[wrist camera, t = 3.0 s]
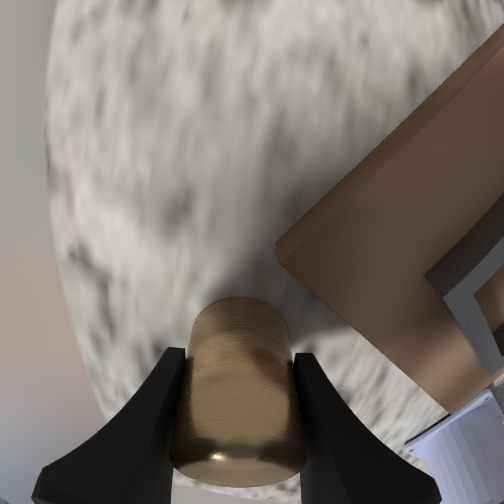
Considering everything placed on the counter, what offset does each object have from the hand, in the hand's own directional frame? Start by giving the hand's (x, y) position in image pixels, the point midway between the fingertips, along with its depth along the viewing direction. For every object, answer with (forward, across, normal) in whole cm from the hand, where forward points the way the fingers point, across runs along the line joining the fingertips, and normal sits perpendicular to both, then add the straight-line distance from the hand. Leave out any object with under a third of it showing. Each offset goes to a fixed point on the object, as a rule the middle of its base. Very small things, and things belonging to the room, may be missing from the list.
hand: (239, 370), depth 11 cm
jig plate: (+2, -12, -5) cm, 13 cm away
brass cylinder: (+2, 0, 0) cm, 2 cm away
